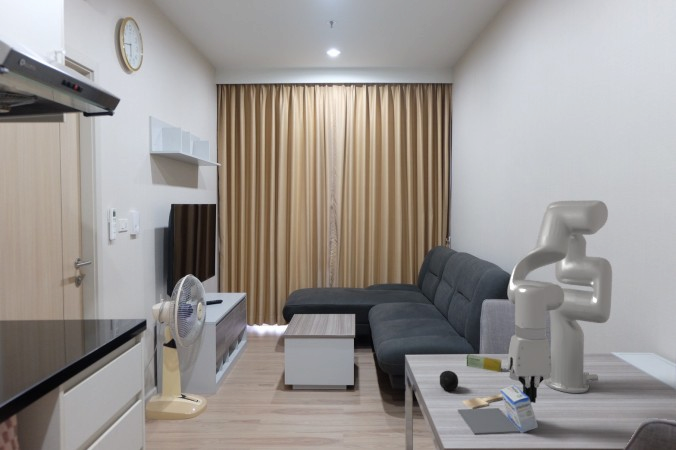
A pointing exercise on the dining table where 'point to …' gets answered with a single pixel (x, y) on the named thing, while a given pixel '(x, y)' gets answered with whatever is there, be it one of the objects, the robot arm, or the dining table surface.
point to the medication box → (484, 363)
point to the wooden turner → (481, 401)
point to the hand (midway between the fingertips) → (529, 400)
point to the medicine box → (519, 408)
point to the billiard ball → (448, 380)
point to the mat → (488, 421)
